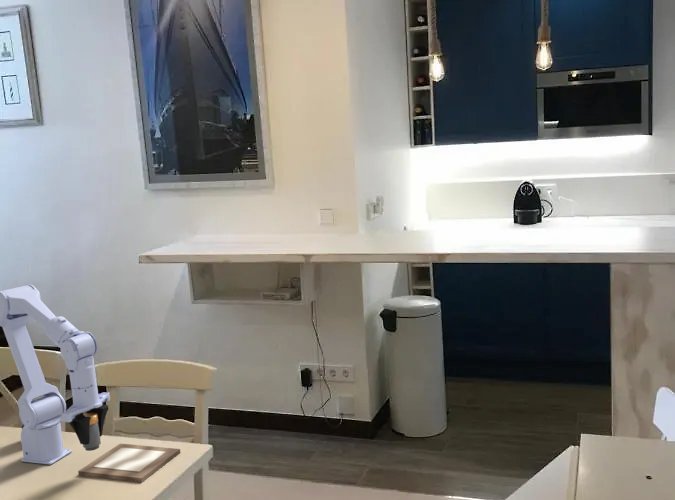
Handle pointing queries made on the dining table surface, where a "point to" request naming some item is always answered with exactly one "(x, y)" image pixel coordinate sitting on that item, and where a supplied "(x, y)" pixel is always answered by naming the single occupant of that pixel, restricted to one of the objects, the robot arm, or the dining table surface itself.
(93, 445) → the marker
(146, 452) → the board
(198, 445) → the dining table surface
